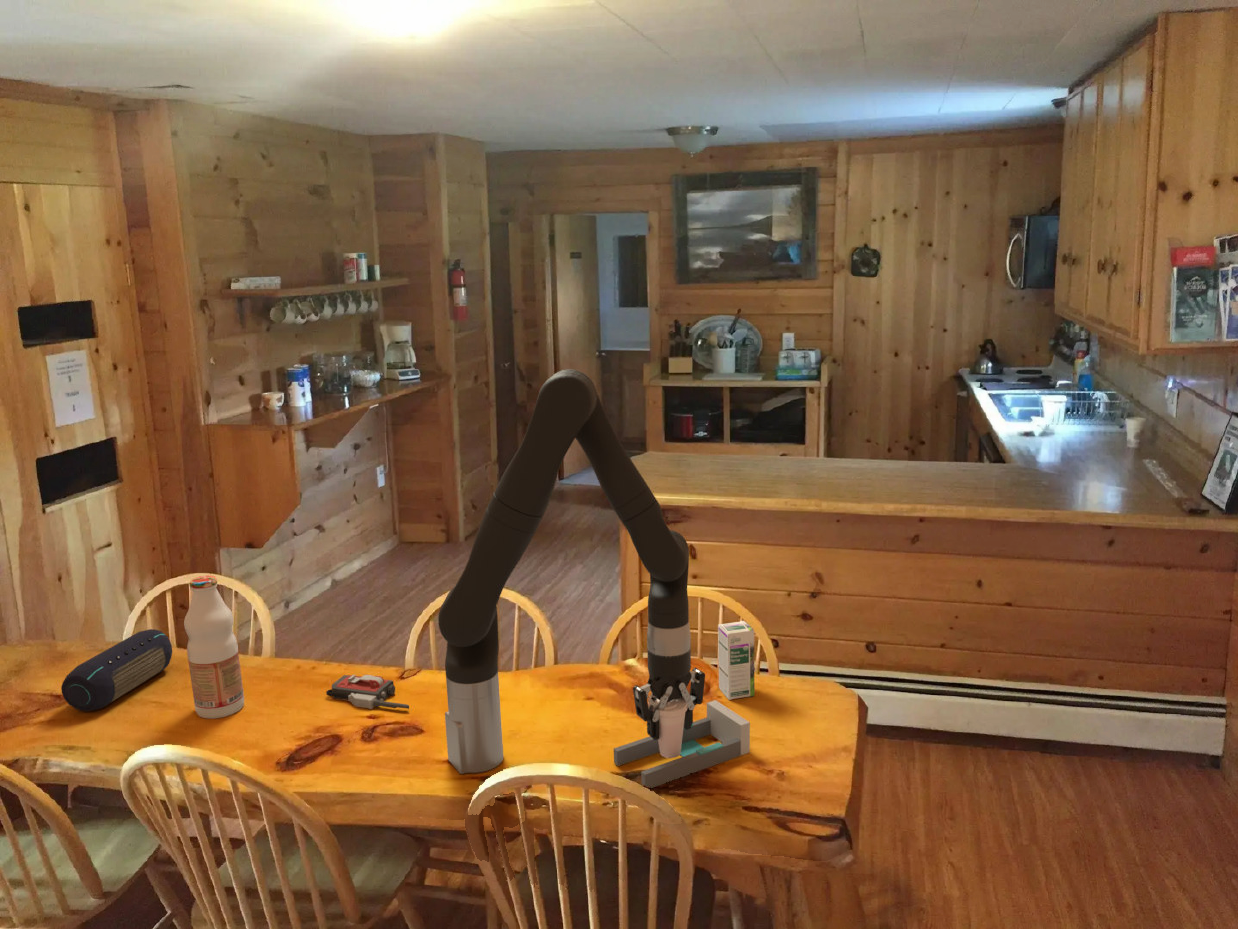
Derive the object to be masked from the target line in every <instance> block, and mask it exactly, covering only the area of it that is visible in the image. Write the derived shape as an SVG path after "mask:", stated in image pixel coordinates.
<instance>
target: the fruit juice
mask: <svg viewBox="0 0 1238 929" xmlns="http://www.w3.org/2000/svg"><path fill="white" fill-rule="evenodd" d="M189 586H190V590H192V595H191V599H190V604H189V607H188V611H187V613H186V615H185V617H184V622H183V624H184V626H183V627H184V631H185V633H186V634H187V637H188V642H187V645H186V653H187V661H188V666H189V667H188V668H189V674H190V680H191V688H192V689H191V690H192V696H193V704H194V709H195V713H196V714H197V715H198V716H199V717H200V718H202V719H221V718H225V717H229V716H232V715H233V714H236V713H237V712H239V711H241V709H242V708H243V707H244V706H245V693H244V688H243V687H244V686H243V677H242V670H241V662H240V654H239V647H238V641H237V640H238V639H237V638H236V636H235V634H234V631H233V626H234V616H233V612H232V610H231V608H229V607H228V606H227V605H226V603H225V601H224V599H223V598H222V595H221V594H220V592H219V591H218V589H217V587H218V579H217V577H216V576H214V575H209V574H208V575H201V576H196V577H194V578H192V579H191V580H190V582H189Z"/></svg>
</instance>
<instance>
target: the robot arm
mask: <svg viewBox="0 0 1238 929" xmlns="http://www.w3.org/2000/svg"><path fill="white" fill-rule="evenodd" d="M575 440H576V441H577V443H578V444H579V445H580V447H581V449H582V450H583V452H584V453H585V455H586V457H587V459H588V461H589V464H590V466H591V467H592V470H593V471H594V474H595V477H596V479H597V481H598V483H599V485H600V487H601V490H602V492H603V494H604V496H605V497H606V499H607V501H608V503H609V504H610V506H611V508H612V510H614V513H615V514H616V516H617V518H618V519H619V521H620V522H621V523H622V525H623V526H624V527H625V529H626V530H627V532H628V534H629V537H630V539H631V541H632V544H633V546H634V548H635V551H636V553H637V556H638V557H639V559H640V561H641V563H642V565H643V567H644V568H645V569H646V570H647V572H648V573H649V582H650V584H649V585H650V586H649V591H648V597H647V598H648V599H647V618H648V619H647V621H648V622H647V630H646V631H647V633H646V642H647V643H646V646H647V647H646V648H647V650H646V652H647V670H648V680H647V683H646V684H643V685H641V686H639V685H636V684H635V685H634V686H633V688H632V692H633V699H634V705H635V712H636V715H637V717H639V718H640V719H641V720H642V721H644V722H646V731H647V735H648V737H651V738H653V739H654V740H658V739H659V721H658V718H659V716H660V715H659V714H660V710H664V708H665V705H666V703H667V702H670V701H671V700H676V699H682V700H683V701H684V702H686V703H687V711H686V712H685V719H684V728H685V729H686V730H688V729H691V725H692V723H693V722H694V720H693V719H694V712H693V711H694V709H695V707H696V706H697V705H701V704H702V703H703V701H704V693H705V692H704V691H705V682H706V681H705V680H706V673H705V672H703V671H702V670H700V669H698V668H697V667H695V668H693V669H692V670H691V668H692V665H691V664H692V660H691V659H692V658H691V656H692V655H691V652H692V651H691V629H690V618H689V614H690V613H689V610H690V609H689V596H688V582H689V581H688V579H689V564H690V548H689V545H688V541H687V540H686V538H685V537H684V536H683V535H682V534H681V533H680V532H677V531H676V530H672V529H669V527H668V525H667V523H666V521H665V519H664V514H663V510H662V506H661V504H660V503H659V501H658V500H657V498H656V496H655V494H654V493H653V492H652V490H651V489H650V487H649V486H648V484H647V482H646V481H645V479H644V477H643V475H642V474H641V473H640V472H639V470H638V468H637V467H636V465H635V464H634V462H633V461H632V459H631V457H630V456H629V454H628V453H627V451H626V449H625V447H624V446H623V444H622V443H621V441H620V439H619V437H618V436H617V434H616V432H615V430H614V428H613V426H612V424H611V422H610V420H609V417H608V416H607V413H606V412H605V409H604V407H603V403H602V402H601V399H600V396H599V394H598V392H597V388H596V385H595V384H594V382H593V380H592V379H591V378H590V377H589V376H588V375H587V374H586V373H584V372H582V371H580V370H577V369H572V368H569V369H563V370H559V371H557V372H556V373H554V374H553V375H551V376H550V377H549V378H548V379H547V380H545V381H544V383H543V384H542V385H541V388H540V389H539V391H538V394H537V398H536V401H535V405H534V408H533V412H532V415H531V417H530V420H529V423H528V426H527V429H526V431H525V434H524V436H523V439H522V441H521V444H520V446H519V447H518V449H517V451H516V453H515V454H514V456H513V457H512V459H511V461H510V462H509V464H508V465H507V467H506V469H505V471H504V472H503V474H502V476H501V477H500V479H499V482H498V484H497V486H496V488H495V490H494V491H493V493H492V496H491V497H490V499H489V502H488V505H487V507H486V509H485V511H484V514H483V517H482V519H481V522H480V524H479V527H478V529H477V532H476V536H475V538H474V542H473V545H472V548H471V551H470V554H469V557H468V560H467V563H466V565H465V567H464V570H463V571H462V574H461V575H460V577H459V579H458V581H457V582H456V584H455V586H454V587H452V588H451V589H450V590H449V591H448V593H447V595H446V597H445V599H444V601H443V602H442V605H441V606H440V609H439V611H438V612H439V613H438V618H437V619H438V620H437V621H438V622H437V624H438V628H439V631H440V634H441V635H442V637H443V639H444V640H445V641H446V652H445V662H444V668H445V670H444V671H445V679H446V680H445V681H446V684H445V685H446V694H447V698H446V699H447V709H448V711H445V713H444V722H445V734H446V735H445V737H446V748H447V760H448V761H449V763H450V764H451V765H452V766H453V767H454V768H455V769H456V771H457V772H458V773H459V774H461V775H464V774H468V773H475V774H476V773H483V772H487V771H491V770H493V769H495V768H497V767H498V766H499V765H500V764H501V763H502V761H503V760H504V745H503V744H504V743H503V730H502V729H503V728H502V716H501V714H502V712H501V698H500V696H501V695H500V681H499V679H500V678H499V665H498V664H499V662H498V661H499V652H500V651H499V649H500V648H499V647H500V642H499V640H500V639H499V620H498V619H499V616H498V603H499V600H500V597H501V594H502V592H503V590H504V588H505V586H506V583H507V582H508V579H509V578H510V577H511V575H512V573H513V572H514V569H516V566H517V565H518V563H519V562H520V560H521V559H522V557H523V555H524V554H525V552H526V550H527V549H528V547H529V545H530V543H531V542H532V539H533V537H534V536H535V534H536V533H537V530H538V528H539V526H540V523H541V522H542V520H543V517H544V516H545V513H546V511H547V509H548V506H549V503H550V501H551V497H552V495H553V492H554V489H555V486H556V481H557V477H558V475H559V470H560V468H561V465H562V463H563V461H564V459H565V456H566V455H567V453H568V451H569V449H570V448H571V446H572V444H573V442H574V441H575ZM689 684H690V686H689V687H690V688H689V691H688V688H687V687H688V685H689ZM649 694H650V695H649ZM657 699H659V700H660V701H659V702H657ZM653 706H654V707H655V709H654V712H653V711H652V710H653V708H652V707H653Z"/></svg>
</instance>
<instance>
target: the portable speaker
mask: <svg viewBox="0 0 1238 929" xmlns="http://www.w3.org/2000/svg"><path fill="white" fill-rule="evenodd" d="M172 656H173V646H172V643H171V640H170V639H169V637H168V636H167V635H166V634H165V633H164V632H162V631H161V630H160V629H156V628H155V629H151V628H150V629H146V630H141V631H138V632H136V633H134V634H133V635H131V636H128V637H127V638H126V639H124V640H122V641H120V642H118V643H116V644H114V645H113V646H111V647H109V648H107V649H105V650H104V651H101V652H100V653H98V654H97V655H94V656H93V657H92V658H89V659H87V660H85V661H84V662H83V663H80V664H78V665H77V666H75V668H73V669H72V670H71V671H70V672H69V673H68V674H67V675H65V677H64V680H63V681H62V684H61V686H60V687H61V693H62V696H63V698H64V700H65V701H66V703H67V704H68V705H69V706H70V707H72V708H74V709H75V710H77V711H80V712H92V711H98V710H100V709H103V708H105V707H107V706H109V704H111V703H112V702H114V701H116V700H117V699H119V698H121V697H122V696H124V695H125V694H126V693H128V692H130V691H131V690H133V689H135V688H136V687H138V686H139V685H141V684H142V683H144V682H146V681H147V680H149V679H151V678H152V677H154V676H156V675H157V674H159V673H162V671H164V670H165V669H166V668H167V667H168V666H169V664H170V663H171V659H172Z"/></svg>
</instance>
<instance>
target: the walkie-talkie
mask: <svg viewBox="0 0 1238 929" xmlns="http://www.w3.org/2000/svg"><path fill="white" fill-rule="evenodd" d="M395 692H396V686H395V685H394V680H392V679H384V678H383V677H382V676H381V675H380V676H378V675H375V676H374V675H372V674H371V675H370V674H364V675H362V676H359V675H356V674H352V675H351V674H350V675H349V674H347V675H346V674H345V675H343V676H341V677H340V678H338V679H337V680H336V681H334V682H333V683H332V685H331V689H328V690H326V696H329V697H332V699H334V700H341V701H348V702H350V703H351V704H352V705H353V706H354V707H357V708H358V707H359V708H365V709H366V708H367V709H369V710H373V709H374V708H375V707H376V708H377V707H379V708H380V707H384V708H390V709H391V708H392V709H396V708H397V709H398V708H400V709H410V705H409V704H406V703H398V702H391V701H385V700H386V699H388V698H389V697H390V696H394V694H395Z"/></svg>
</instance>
